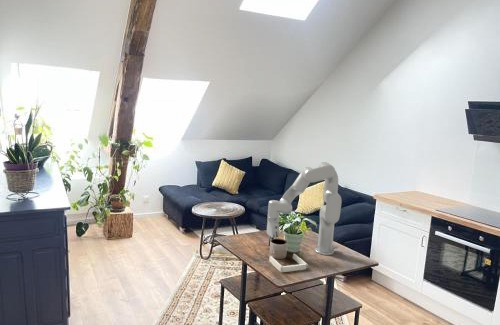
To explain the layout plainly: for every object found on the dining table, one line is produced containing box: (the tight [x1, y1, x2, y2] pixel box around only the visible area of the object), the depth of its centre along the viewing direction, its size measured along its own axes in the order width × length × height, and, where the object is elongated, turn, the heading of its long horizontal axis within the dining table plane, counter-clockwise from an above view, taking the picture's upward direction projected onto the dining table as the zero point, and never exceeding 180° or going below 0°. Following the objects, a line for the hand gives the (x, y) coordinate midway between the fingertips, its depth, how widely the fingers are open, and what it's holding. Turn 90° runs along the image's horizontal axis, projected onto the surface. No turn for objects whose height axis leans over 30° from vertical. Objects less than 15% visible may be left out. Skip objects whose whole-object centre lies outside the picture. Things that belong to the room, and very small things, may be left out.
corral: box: [269, 253, 309, 273], centre depth 220 cm, size 17×16×3 cm
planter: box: [269, 238, 288, 260], centre depth 233 cm, size 11×11×10 cm
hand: (271, 246), depth 242 cm, fingers closed
